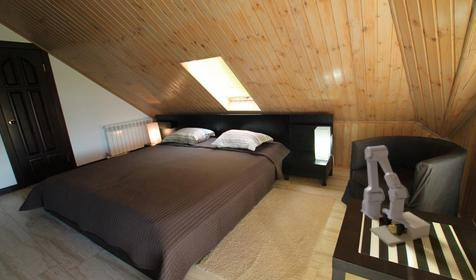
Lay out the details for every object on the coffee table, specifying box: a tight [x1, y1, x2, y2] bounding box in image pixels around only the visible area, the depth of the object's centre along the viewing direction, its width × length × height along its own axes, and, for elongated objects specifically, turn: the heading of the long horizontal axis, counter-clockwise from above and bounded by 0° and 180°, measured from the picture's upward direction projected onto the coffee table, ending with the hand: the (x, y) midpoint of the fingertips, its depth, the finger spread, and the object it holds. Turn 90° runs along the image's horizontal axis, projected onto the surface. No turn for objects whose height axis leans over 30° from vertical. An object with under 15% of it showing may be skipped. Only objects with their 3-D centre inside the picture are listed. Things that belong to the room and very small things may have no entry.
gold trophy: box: [387, 221, 407, 234], centre depth 116 cm, size 6×14×4 cm, turn 100°
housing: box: [369, 211, 431, 246], centre depth 115 cm, size 12×24×7 cm, turn 100°
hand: (393, 230), depth 115 cm, fingers open, 6 cm apart
